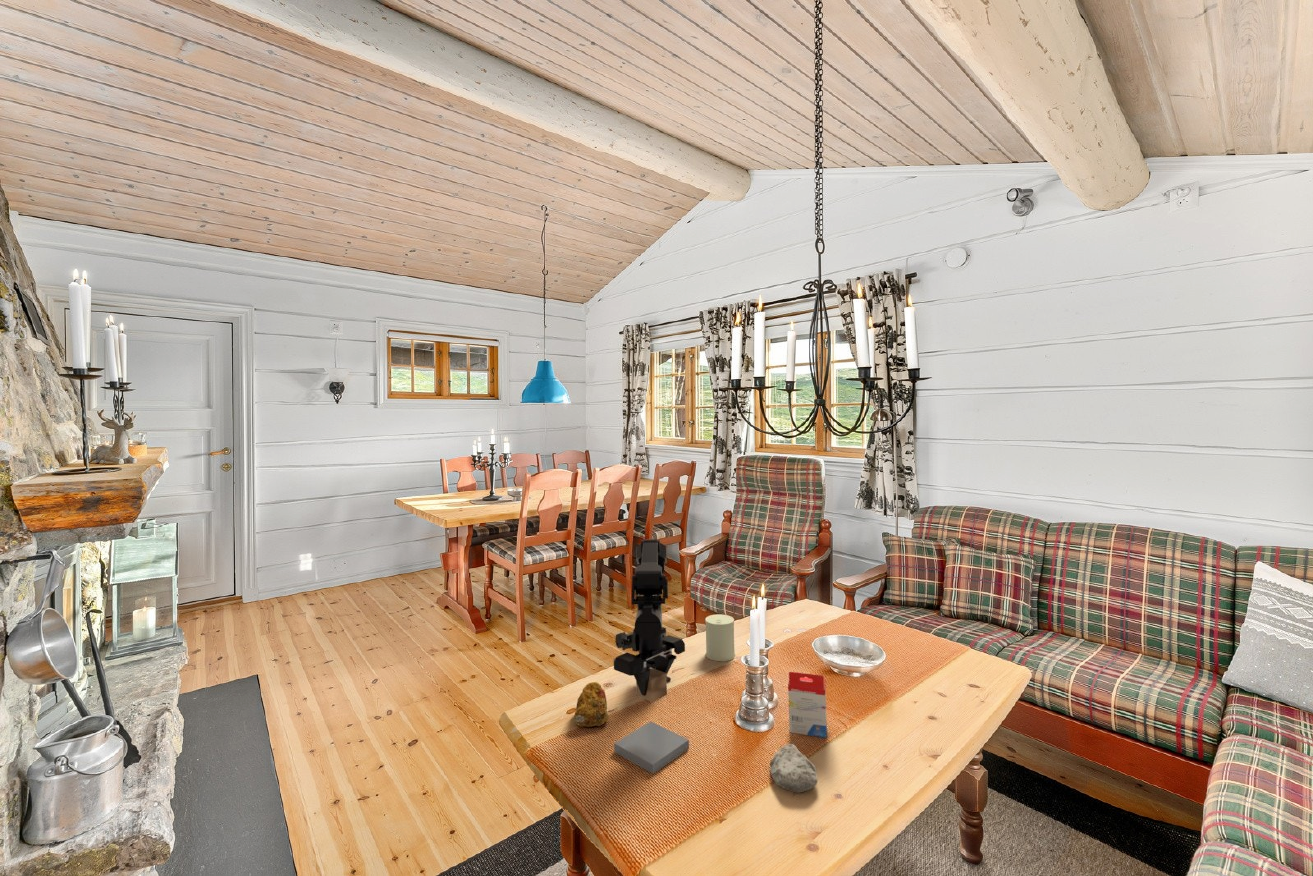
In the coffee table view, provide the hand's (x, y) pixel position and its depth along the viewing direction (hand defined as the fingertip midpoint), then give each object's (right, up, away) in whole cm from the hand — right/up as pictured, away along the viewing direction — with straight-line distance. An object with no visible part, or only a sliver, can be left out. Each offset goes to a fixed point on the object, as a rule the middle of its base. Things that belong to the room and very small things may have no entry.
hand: (651, 691), depth 128 cm
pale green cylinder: (+21, -10, +47) cm, 52 cm away
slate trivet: (0, -12, -3) cm, 12 cm away
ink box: (+37, -11, +3) cm, 39 cm away
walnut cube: (0, -1, 0) cm, 1 cm away
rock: (-15, -12, +12) cm, 23 cm away
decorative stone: (+29, -12, -14) cm, 34 cm away
